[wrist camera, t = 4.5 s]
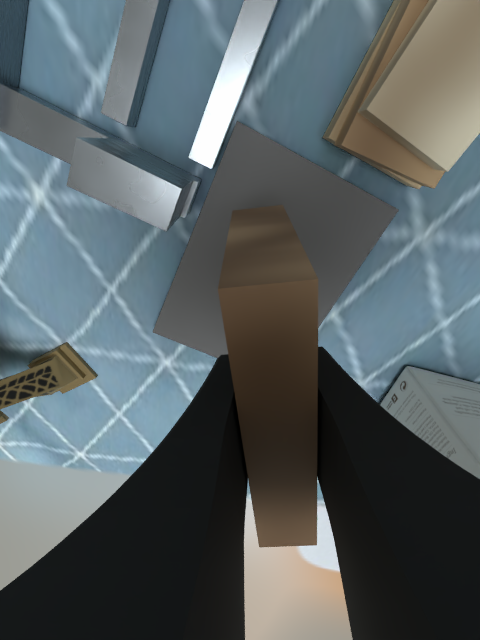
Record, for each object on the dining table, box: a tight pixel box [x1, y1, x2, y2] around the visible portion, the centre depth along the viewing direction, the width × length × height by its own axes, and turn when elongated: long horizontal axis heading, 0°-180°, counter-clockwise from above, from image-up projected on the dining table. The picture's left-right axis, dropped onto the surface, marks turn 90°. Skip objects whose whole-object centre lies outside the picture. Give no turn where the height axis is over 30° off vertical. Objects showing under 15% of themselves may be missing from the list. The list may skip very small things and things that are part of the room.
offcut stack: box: [323, 0, 480, 189], centre depth 11 cm, size 4×7×3 cm, turn 155°
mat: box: [153, 121, 398, 358], centre depth 17 cm, size 8×11×1 cm
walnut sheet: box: [218, 205, 318, 547], centre depth 10 cm, size 2×8×6 cm, turn 7°
